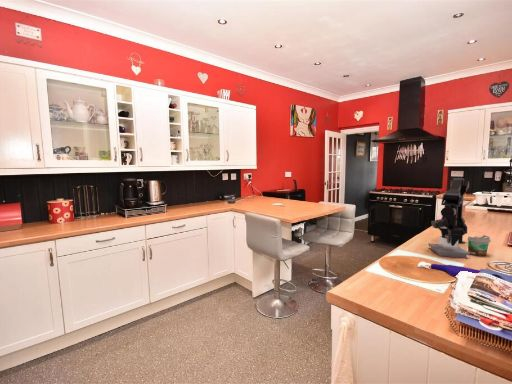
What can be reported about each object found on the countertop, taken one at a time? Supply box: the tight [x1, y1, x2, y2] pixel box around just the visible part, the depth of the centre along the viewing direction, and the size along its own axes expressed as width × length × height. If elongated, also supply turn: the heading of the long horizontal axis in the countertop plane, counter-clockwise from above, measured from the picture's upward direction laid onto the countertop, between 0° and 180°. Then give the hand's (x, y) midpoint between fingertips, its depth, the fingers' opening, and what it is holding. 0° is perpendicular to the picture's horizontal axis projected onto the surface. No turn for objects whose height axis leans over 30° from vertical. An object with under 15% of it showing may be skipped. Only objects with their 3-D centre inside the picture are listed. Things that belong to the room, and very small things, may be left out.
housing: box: [438, 234, 459, 250], centre depth 141 cm, size 5×7×7 cm
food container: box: [467, 234, 492, 257], centre depth 138 cm, size 12×6×10 cm, turn 105°
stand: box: [428, 242, 471, 259], centre depth 141 cm, size 14×14×3 cm
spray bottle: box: [417, 261, 481, 277], centre depth 116 cm, size 3×11×24 cm
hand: (448, 243), depth 141 cm, fingers open, 9 cm apart
